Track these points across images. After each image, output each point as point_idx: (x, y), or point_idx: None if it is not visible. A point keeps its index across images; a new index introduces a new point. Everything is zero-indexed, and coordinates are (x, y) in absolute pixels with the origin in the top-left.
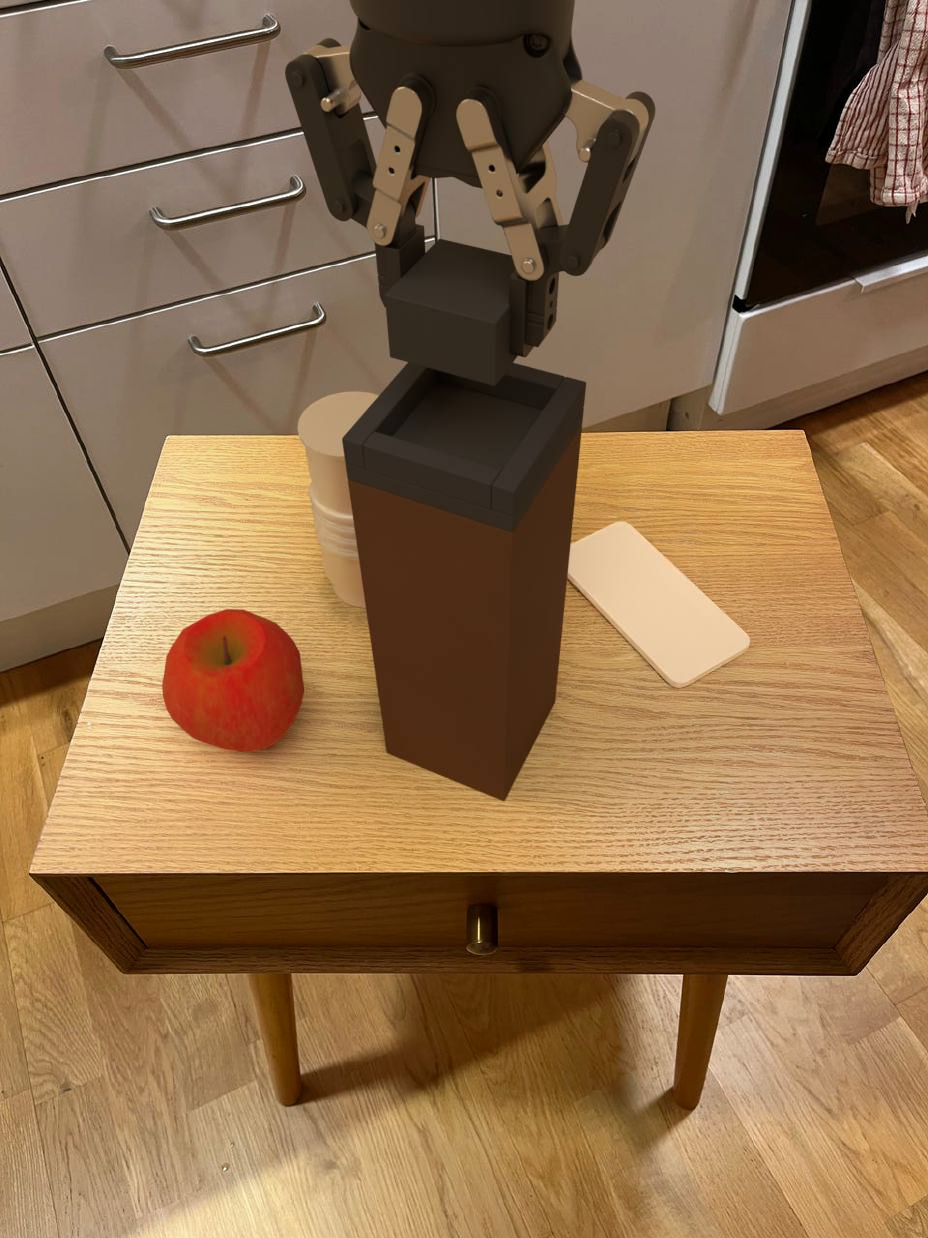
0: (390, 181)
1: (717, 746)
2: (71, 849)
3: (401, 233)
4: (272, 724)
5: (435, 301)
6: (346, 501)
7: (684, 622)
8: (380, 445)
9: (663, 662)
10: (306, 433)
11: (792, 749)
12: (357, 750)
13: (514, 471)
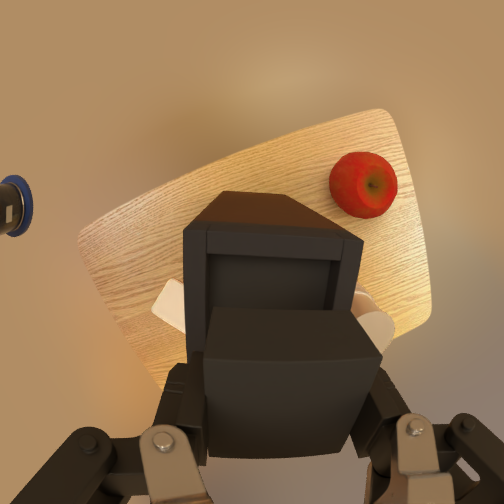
0: (429, 494)
1: (147, 254)
2: (383, 113)
3: (385, 439)
4: (335, 166)
5: (311, 373)
6: (354, 298)
7: (180, 312)
8: (328, 244)
9: (180, 287)
10: (388, 320)
11: (121, 264)
12: (298, 191)
13: (193, 255)
